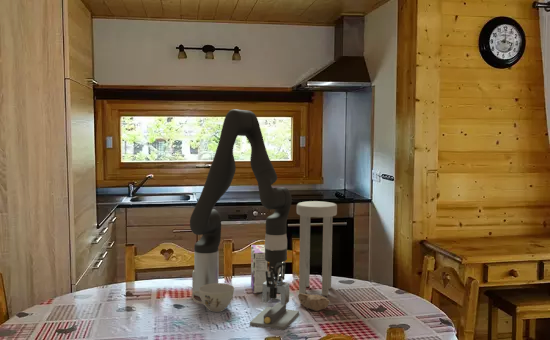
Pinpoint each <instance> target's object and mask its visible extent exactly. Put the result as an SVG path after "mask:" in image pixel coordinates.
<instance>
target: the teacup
mask: <svg viewBox="0 0 550 340" xmlns="http://www.w3.org/2000/svg"><path fill="white" fill-rule="evenodd" d="M234 292H235V287H234V286H233V285H231V284H228V283H223V282H221V283H220V282H218V283H214V284H206V285H203V286H202V287H200V288H199V291H194V292H193V293H192V294H191V297H192V300H193V301H194V302H195V303H197V304H201V305H204V307H206V308H207V309H208V310H209V311H210V312H214V313H215V312H216V313H220V312H223V311H225V309H226V308H227V307H228V306H229V305H230V304H231V301H232V300H233V296H234ZM195 294H198V295H199V296H200V297H199V298H200V300H201V301H200V300H198V299H196V298H195Z"/></svg>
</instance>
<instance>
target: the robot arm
mask: <svg viewBox="0 0 550 340" xmlns="http://www.w3.org/2000/svg"><path fill="white" fill-rule="evenodd" d="M239 136H240V137H245V138H246V139H247V140H248V142H249V144H250V149H251V150H250V167H251V170H252V172H253V175H254V177H255V180H256V182H257V187H258V194H259V201H260V203H261V205H262V206H263V207H264V208H265V209H266V210H269V211H271V210H274V212H273V213H272V214H270V215H269V216H267V217H266V219H265V238H264V245H265V260H266V261H267V262H268V264H269V265H268V271H266V272H265V274H266V283H267V287H270V298H271V300H272V299H273V300H275V299H277V297H278V296H277V295H281V293H277V288H276V287H277V281H278V282H284V280H285V274H286V265H287V264H286V261H287V260H288V237H287V220H288V217H289V213H290V210H291V206H292V203H293V200H292V199H293V198H292V194H291V192H290V190H289V189H288V188H287V187H283V186H281V187H280V186H279V187H272V185H273V184H276V182H277V180H278V175H277V171H276V169H275V167H274V166H273V164H272V161H271V159H270V157H269V154H268V152H267V148H266V145H265V141H264V137H263V134H262V129H261V126H260V122H259V120H258V117H257V114H255V113H254V112H253V111H251V110H244V109H238V108H237V109H236V108H235V109H234V108H233V109H231V110H229V111H228V112H227V113H226V115H225V117H224V119H223V123H222V127H221V132H220V135H219V140H218V144H217V147H216V150H215V153H214V156H213V159H212V162H211V164H210V168H209V170H208V174H207V177H206V180H205V183H204V185H203V188H202V191H201V193H200V196H199V198H198V201H197V202H196V204H195V207H194V209H193V211H192V213H191V216H190V218H189V227H190V231H191V232H192V233H193V234H194V235H197V236H200V235H201V237H200V239H199V240H197V241H196V242H195V243H194V246H193V247H194V255H193V256H194V270H192V273H191V274H192V280H191V281H192V283H191V285H192V288H191V289H192V290H191V292H192V293H193V292H194V291H199V288H200V287H202V286H203V285H206V284H214V283H219V247H220V245H221V236H222V217H221V214H220V212H218V210H217V209H214V207H215V205H216V204H217V203H218V202H219V200H221V198H222V197H223V195H225V193H226V192H227V191H228V189H230V186H231V184H232V182H233V180H234V176H235V174H236V170H237V169H236V168H237V167H236V166H237V165H236V160H235V156H234V146H235V144H236V140H237V138H238V137H239ZM271 283H272V284H271ZM194 297H199V298H200V296H199V295H198V294H195V295H194Z"/></svg>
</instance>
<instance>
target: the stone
mask: <svg viewBox="0 0 550 340" xmlns="http://www.w3.org/2000/svg"><path fill="white" fill-rule="evenodd" d="M297 297H298V301H299V303H300V304H301V305H302V306H303V307H305V308H307V309H309V310H312V311H315V312H319V311H320V310H324V309H326V308H327V307H328V306H329V305H330V299H327V297H325V296H324V295H319V294H306V293H305V294H302V293H299V292H298V294H297Z"/></svg>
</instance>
